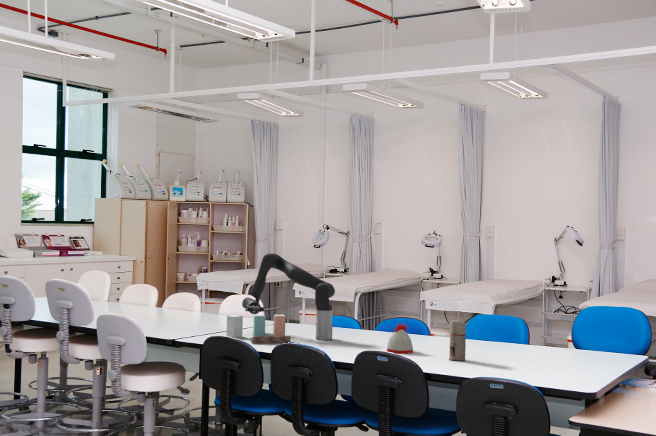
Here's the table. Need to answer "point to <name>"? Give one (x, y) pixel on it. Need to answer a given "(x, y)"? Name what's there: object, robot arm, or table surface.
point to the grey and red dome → (400, 341)
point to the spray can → (457, 340)
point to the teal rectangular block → (259, 326)
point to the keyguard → (270, 339)
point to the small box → (234, 325)
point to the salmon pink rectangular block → (279, 325)
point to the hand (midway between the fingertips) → (257, 310)
